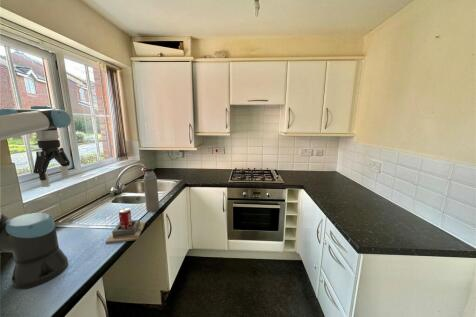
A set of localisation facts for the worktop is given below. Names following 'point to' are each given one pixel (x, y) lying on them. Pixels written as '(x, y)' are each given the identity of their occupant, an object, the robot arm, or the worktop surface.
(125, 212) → the soda can
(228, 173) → the worktop surface
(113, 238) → the square socket dock
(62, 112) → the robot arm
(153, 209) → the thermos bottle
